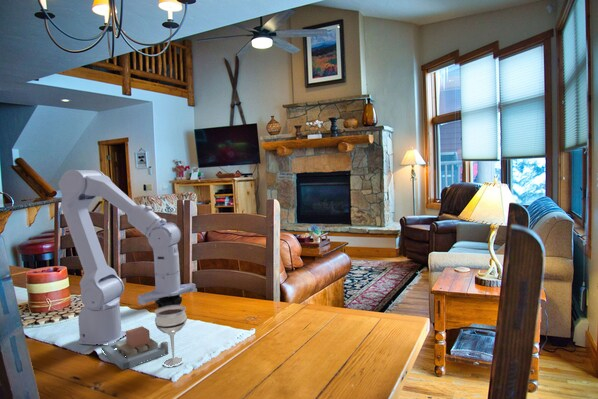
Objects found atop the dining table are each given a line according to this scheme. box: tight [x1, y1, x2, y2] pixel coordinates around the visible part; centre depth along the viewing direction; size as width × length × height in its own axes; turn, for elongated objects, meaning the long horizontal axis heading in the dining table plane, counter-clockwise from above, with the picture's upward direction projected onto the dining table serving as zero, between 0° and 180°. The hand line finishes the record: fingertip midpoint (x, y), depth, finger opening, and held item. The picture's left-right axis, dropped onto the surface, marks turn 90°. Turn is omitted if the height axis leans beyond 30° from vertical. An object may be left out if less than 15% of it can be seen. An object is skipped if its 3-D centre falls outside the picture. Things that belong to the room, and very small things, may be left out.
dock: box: [100, 338, 169, 371], centre depth 96 cm, size 11×13×2 cm
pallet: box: [116, 337, 159, 359], centre depth 96 cm, size 7×7×2 cm
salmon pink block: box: [125, 325, 151, 348], centre depth 97 cm, size 4×4×3 cm
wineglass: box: [154, 304, 188, 366], centre depth 90 cm, size 7×7×12 cm
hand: (169, 325), depth 102 cm, fingers closed
